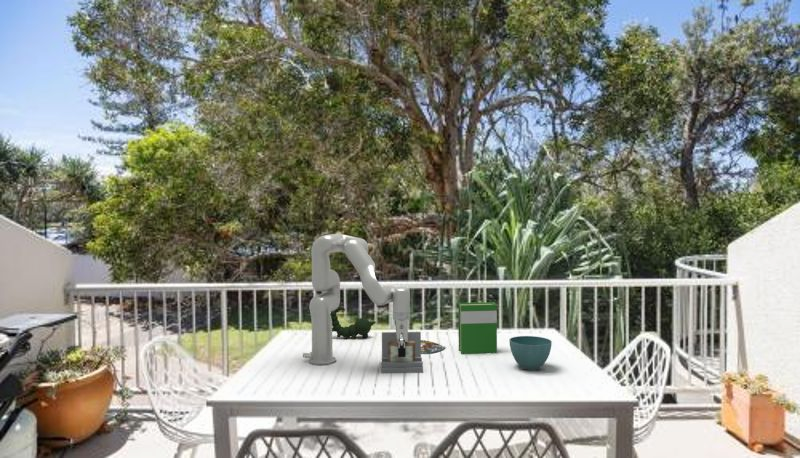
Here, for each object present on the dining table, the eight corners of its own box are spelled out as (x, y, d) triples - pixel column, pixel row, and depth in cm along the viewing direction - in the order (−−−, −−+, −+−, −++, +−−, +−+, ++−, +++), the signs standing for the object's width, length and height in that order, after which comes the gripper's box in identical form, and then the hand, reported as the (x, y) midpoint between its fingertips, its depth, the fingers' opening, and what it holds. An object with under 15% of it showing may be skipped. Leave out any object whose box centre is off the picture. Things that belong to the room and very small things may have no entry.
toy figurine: (332, 343, 301) (377, 338, 302) (328, 309, 301) (373, 304, 301) (333, 339, 311) (377, 334, 311) (330, 306, 310) (374, 301, 311)
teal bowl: (524, 359, 257) (524, 333, 257) (559, 367, 244) (559, 339, 244) (501, 367, 244) (501, 340, 244) (537, 376, 231) (537, 347, 231)
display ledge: (381, 373, 238) (381, 340, 238) (382, 362, 256) (381, 332, 256) (422, 372, 239) (422, 340, 238) (420, 361, 256) (420, 331, 256)
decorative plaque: (393, 336, 301) (448, 337, 295) (393, 341, 301) (448, 342, 295) (381, 350, 272) (441, 352, 266) (381, 356, 272) (441, 357, 266)
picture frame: (388, 365, 242) (387, 343, 242) (388, 363, 246) (387, 341, 246) (415, 365, 242) (415, 342, 242) (414, 362, 247) (414, 340, 246)
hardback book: (461, 354, 269) (460, 305, 268) (458, 350, 276) (458, 302, 275) (497, 353, 270) (496, 304, 269) (493, 349, 277) (493, 302, 276)
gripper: (410, 319, 235) (410, 359, 236) (409, 312, 252) (409, 349, 253) (392, 319, 235) (393, 359, 236) (392, 312, 252) (393, 349, 253)
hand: (401, 354), depth 244 cm, fingers open, 9 cm apart
